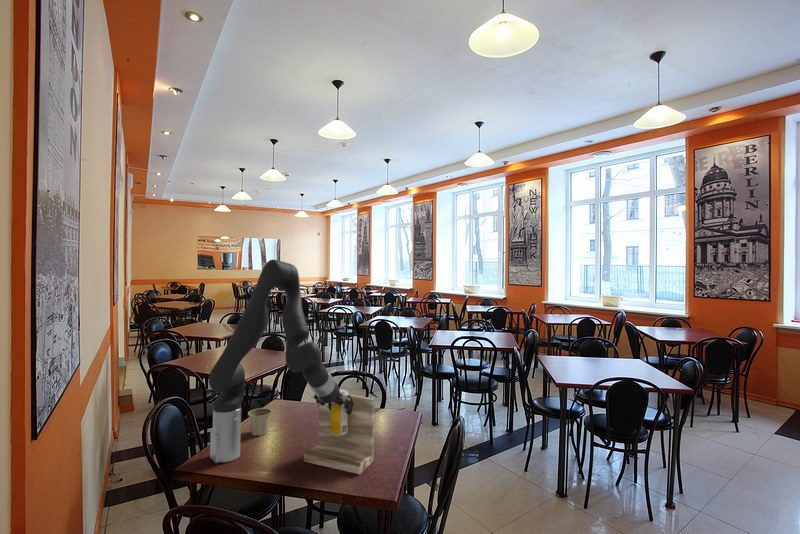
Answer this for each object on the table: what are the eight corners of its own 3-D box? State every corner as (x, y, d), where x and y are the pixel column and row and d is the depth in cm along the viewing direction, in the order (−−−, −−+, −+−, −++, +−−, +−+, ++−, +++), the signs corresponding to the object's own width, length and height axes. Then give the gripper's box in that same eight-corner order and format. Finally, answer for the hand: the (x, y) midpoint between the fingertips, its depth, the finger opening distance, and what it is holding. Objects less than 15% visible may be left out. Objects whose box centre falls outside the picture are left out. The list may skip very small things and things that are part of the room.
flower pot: (242, 435, 164) (242, 414, 164) (257, 427, 173) (258, 406, 173) (261, 439, 161) (262, 417, 161) (276, 430, 170) (276, 409, 170)
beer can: (339, 428, 148) (340, 387, 148) (351, 433, 144) (352, 390, 144) (326, 433, 143) (327, 390, 143) (338, 438, 139) (339, 394, 139)
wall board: (359, 474, 134) (360, 407, 135) (303, 461, 143) (305, 398, 143) (373, 460, 144) (374, 398, 145) (320, 449, 153) (322, 390, 153)
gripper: (347, 378, 134) (363, 404, 145) (310, 373, 140) (328, 399, 150) (338, 399, 129) (356, 424, 140) (300, 393, 135) (320, 418, 145)
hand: (341, 411), depth 145 cm, fingers closed on beer can, 6 cm apart
